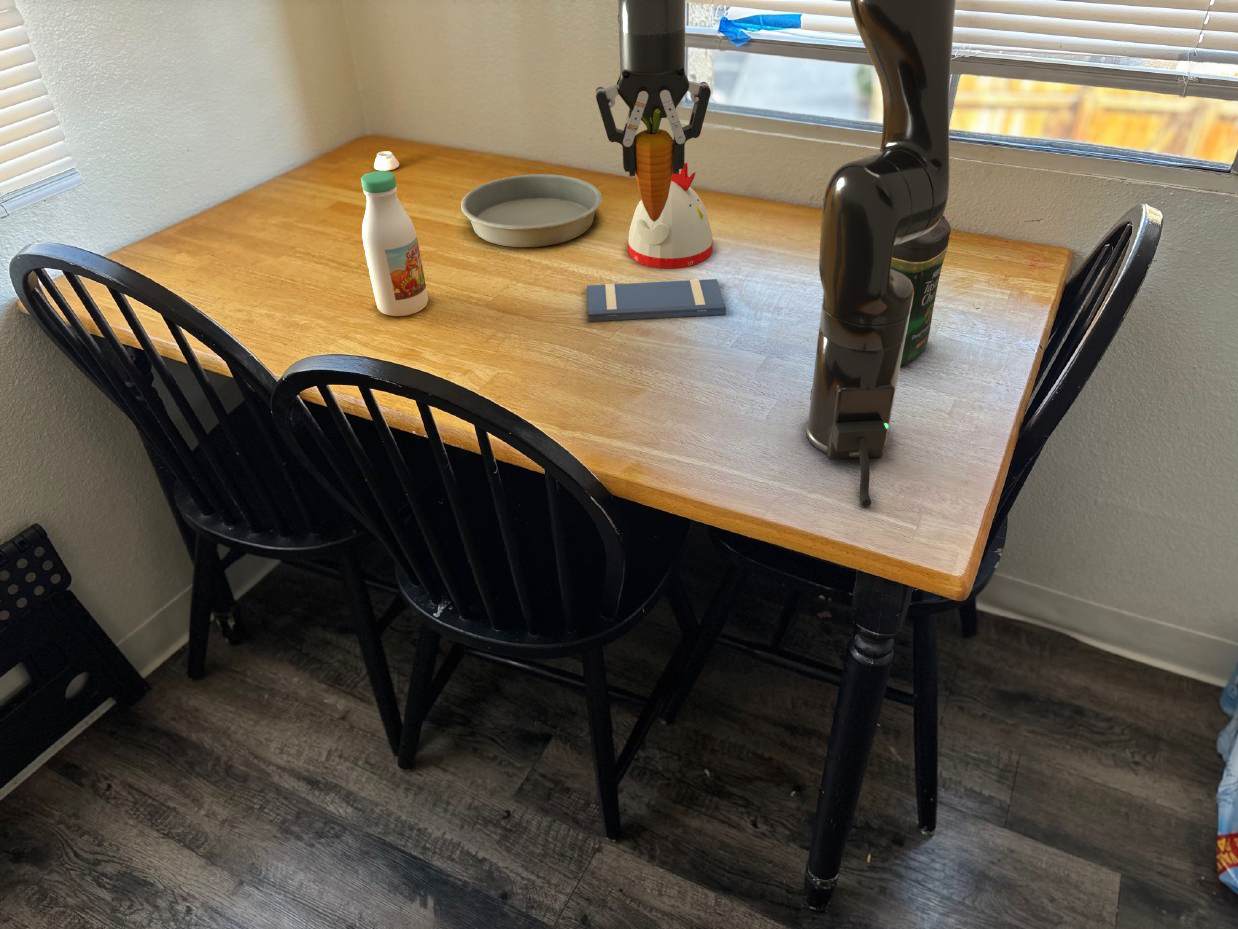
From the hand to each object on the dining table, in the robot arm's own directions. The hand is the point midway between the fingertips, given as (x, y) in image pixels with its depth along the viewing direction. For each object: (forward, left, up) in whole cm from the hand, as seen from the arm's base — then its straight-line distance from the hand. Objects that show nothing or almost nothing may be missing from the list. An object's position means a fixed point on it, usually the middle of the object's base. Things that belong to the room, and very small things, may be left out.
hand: (653, 172), depth 112 cm
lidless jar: (+75, +49, -24) cm, 92 cm away
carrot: (0, 0, -7) cm, 7 cm away
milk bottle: (+14, +37, -24) cm, 46 cm away
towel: (+11, -1, -23) cm, 26 cm away
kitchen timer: (+29, -5, -24) cm, 37 cm away
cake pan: (+43, +18, -24) cm, 52 cm away
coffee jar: (-6, -32, -24) cm, 40 cm away
